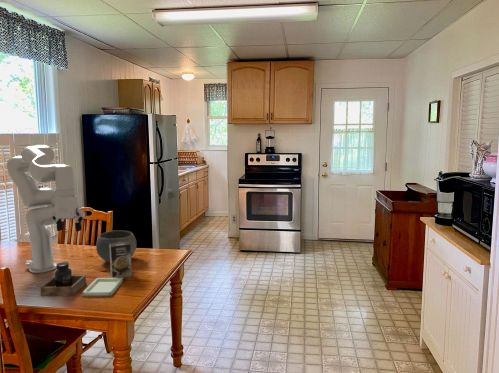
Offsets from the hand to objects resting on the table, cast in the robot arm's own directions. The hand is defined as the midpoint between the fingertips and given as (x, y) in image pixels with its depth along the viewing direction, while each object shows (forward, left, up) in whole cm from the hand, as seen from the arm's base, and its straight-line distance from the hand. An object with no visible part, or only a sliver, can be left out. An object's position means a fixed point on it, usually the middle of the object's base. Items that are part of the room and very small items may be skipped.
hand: (69, 230), depth 173 cm
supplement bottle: (-1, -7, -26) cm, 26 cm away
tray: (+16, -6, -25) cm, 30 cm away
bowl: (+10, +30, -26) cm, 41 cm away
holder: (-1, -7, -25) cm, 26 cm away
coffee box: (+19, +9, -26) cm, 33 cm away
